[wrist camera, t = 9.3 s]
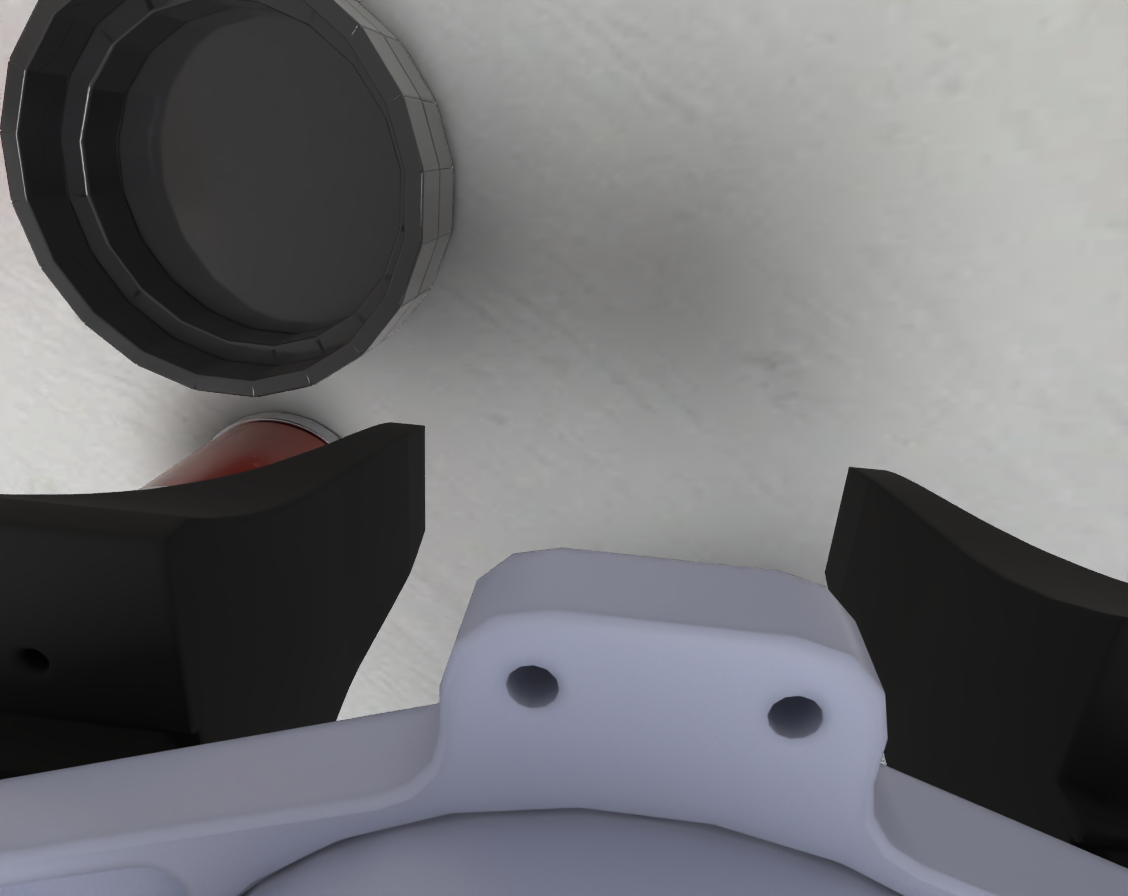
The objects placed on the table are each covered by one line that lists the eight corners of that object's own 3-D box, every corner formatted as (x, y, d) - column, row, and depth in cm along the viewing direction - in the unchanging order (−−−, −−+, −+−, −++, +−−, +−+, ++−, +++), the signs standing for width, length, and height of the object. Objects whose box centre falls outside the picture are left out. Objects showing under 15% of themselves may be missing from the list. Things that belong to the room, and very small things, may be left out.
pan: (451, 380, 23) (418, 417, 20) (119, 341, 24) (37, 371, 21) (465, -17, 19) (428, -48, 16) (72, -49, 20) (-36, -85, 17)
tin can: (372, 581, 26) (292, 707, 20) (210, 559, 26) (85, 676, 20) (373, 422, 24) (283, 510, 18) (196, 401, 24) (53, 482, 18)
